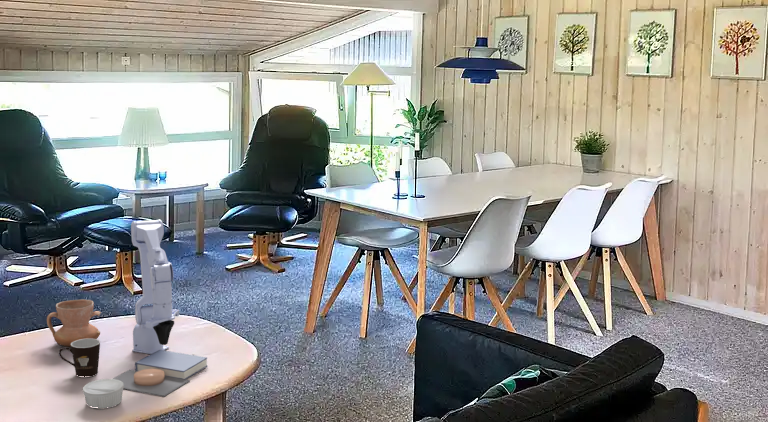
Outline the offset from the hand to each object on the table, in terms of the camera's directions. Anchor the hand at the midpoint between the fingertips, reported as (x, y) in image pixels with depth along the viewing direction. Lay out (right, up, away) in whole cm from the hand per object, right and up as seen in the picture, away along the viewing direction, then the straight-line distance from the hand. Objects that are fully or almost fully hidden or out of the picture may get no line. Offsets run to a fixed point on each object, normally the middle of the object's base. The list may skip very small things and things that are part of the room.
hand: (163, 343), depth 270 cm
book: (+2, -9, +4) cm, 9 cm away
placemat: (-3, -11, -8) cm, 14 cm away
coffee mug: (-25, -9, -1) cm, 27 cm away
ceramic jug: (-37, -4, +26) cm, 45 cm away
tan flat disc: (-3, -10, -7) cm, 12 cm away
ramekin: (-11, -14, -23) cm, 29 cm away
